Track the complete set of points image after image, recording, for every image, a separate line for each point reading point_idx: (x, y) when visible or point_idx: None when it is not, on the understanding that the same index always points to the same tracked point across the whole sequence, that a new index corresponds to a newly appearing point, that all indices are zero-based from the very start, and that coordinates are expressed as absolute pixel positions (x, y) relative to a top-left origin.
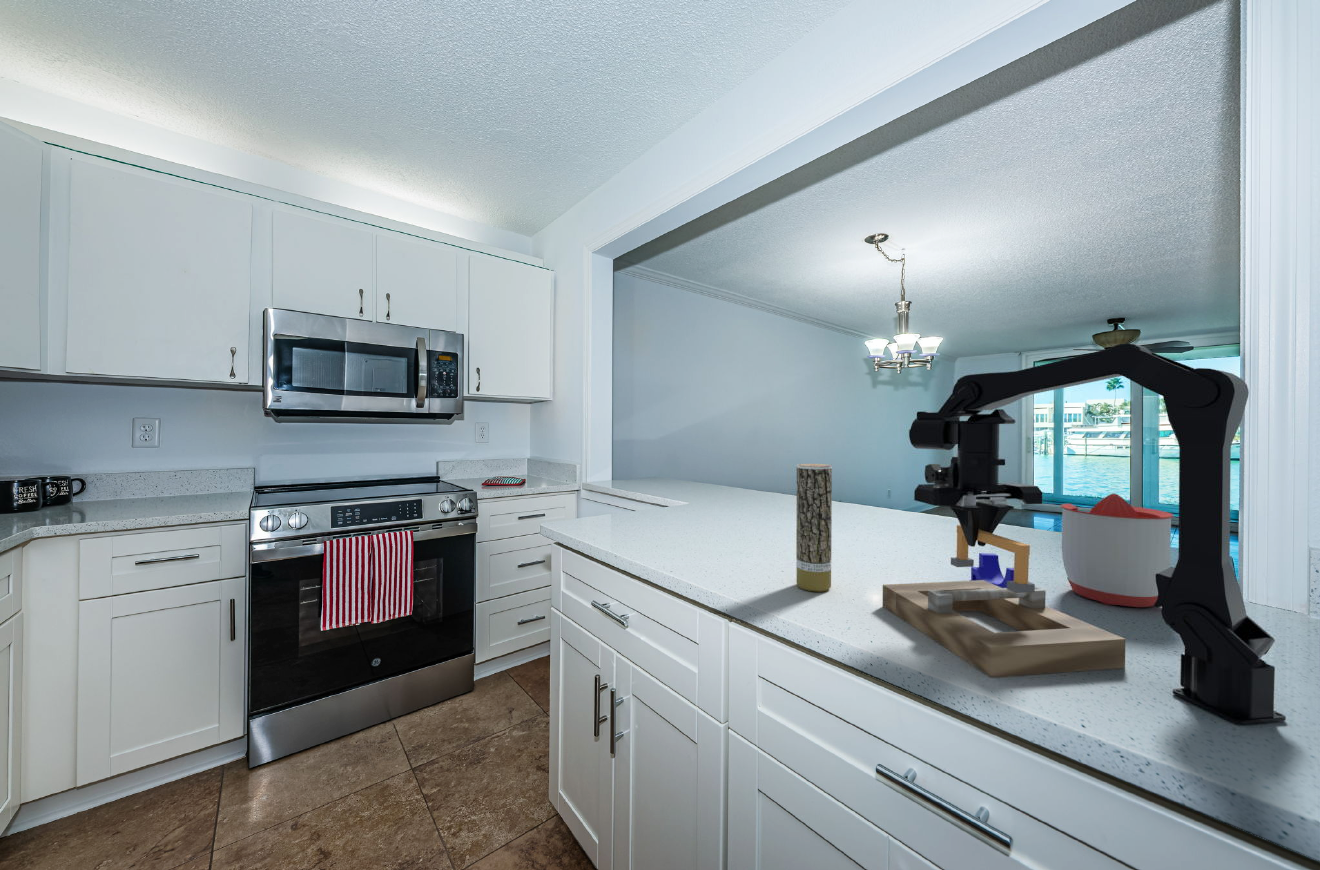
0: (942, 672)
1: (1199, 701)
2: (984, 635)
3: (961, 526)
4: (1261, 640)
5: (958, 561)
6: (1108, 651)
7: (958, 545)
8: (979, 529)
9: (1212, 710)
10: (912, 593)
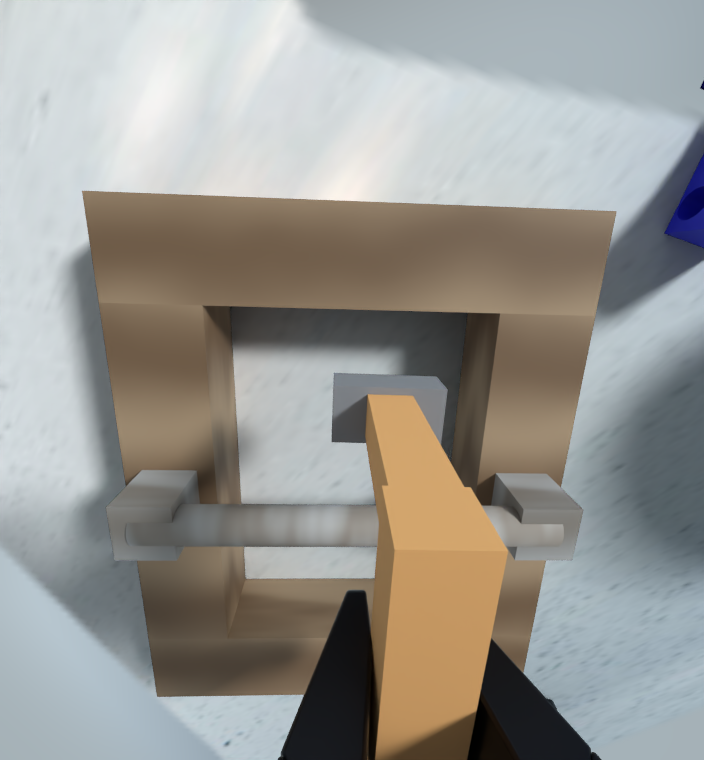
0: (94, 604)
1: None
2: (186, 648)
3: (283, 750)
4: None
5: (338, 439)
6: None
7: (375, 446)
8: (480, 733)
9: None
10: (166, 327)
